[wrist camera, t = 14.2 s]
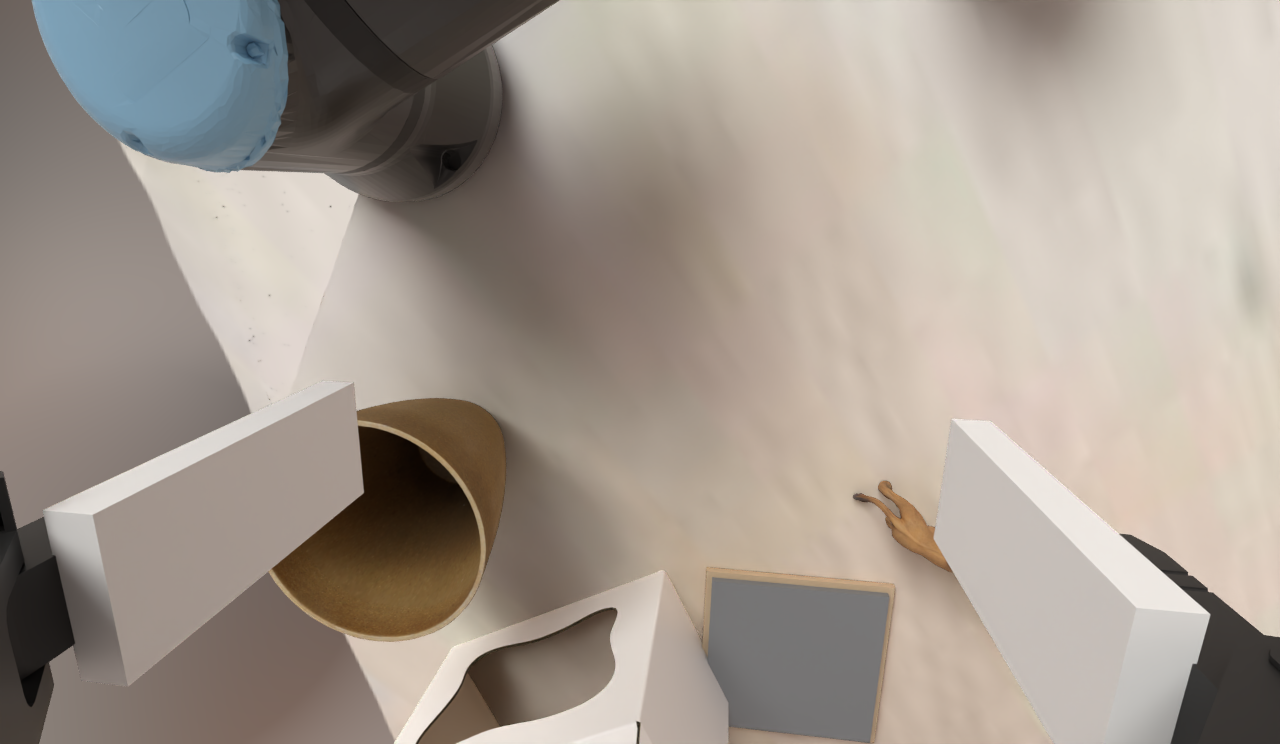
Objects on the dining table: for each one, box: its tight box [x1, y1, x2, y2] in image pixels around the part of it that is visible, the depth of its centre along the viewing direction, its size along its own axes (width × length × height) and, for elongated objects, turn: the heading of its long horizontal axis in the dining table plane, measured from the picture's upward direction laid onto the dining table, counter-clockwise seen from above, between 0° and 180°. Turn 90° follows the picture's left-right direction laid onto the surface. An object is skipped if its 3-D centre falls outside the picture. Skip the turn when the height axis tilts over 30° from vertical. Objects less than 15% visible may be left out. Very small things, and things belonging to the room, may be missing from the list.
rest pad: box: [702, 567, 895, 743], centre depth 57 cm, size 15×15×1 cm
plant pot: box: [268, 398, 506, 642], centre depth 49 cm, size 15×15×16 cm
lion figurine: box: [853, 481, 954, 574], centre depth 49 cm, size 12×4×7 cm, turn 72°
